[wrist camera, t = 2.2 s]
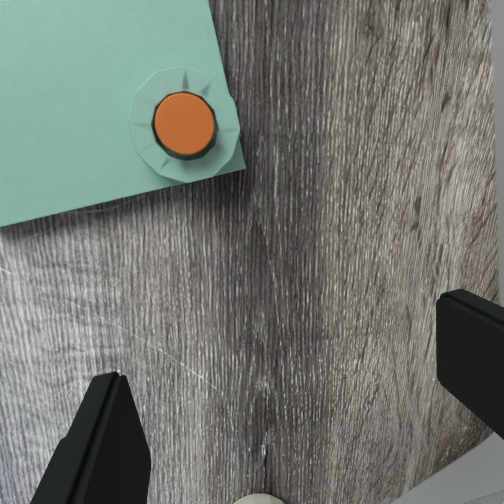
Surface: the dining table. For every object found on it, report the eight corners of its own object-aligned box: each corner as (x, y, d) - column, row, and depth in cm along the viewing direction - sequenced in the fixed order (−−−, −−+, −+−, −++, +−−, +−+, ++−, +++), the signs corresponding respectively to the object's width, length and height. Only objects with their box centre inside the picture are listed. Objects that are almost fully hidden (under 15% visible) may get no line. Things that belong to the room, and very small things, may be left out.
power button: (205, 93, 19) (205, 87, 17) (218, 149, 19) (220, 147, 18) (150, 104, 18) (146, 99, 17) (166, 160, 19) (164, 160, 18)
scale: (185, -88, 19) (183, -134, 16) (242, 168, 22) (250, 169, 20) (-128, -39, 17) (-194, -80, 14) (-7, 227, 21) (-38, 238, 18)
